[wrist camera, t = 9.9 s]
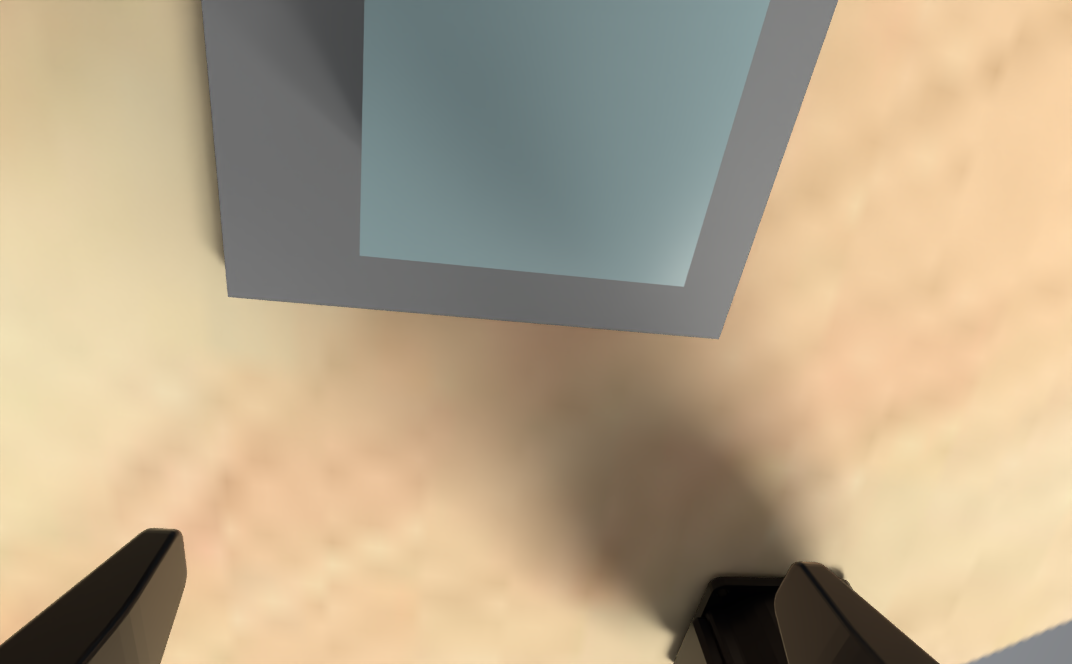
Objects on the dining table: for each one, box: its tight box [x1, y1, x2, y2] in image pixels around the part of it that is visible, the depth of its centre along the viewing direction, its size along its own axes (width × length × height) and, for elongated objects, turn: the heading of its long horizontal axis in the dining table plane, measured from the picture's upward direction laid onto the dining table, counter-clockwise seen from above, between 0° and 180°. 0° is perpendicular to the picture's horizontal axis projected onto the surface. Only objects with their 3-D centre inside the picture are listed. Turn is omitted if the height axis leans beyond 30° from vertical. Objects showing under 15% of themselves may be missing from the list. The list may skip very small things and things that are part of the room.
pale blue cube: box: [360, 0, 770, 287], centre depth 13 cm, size 6×6×5 cm
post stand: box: [201, 0, 838, 339], centre depth 14 cm, size 14×14×5 cm
